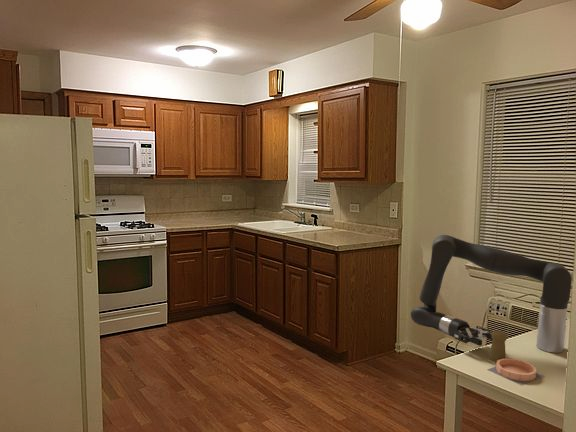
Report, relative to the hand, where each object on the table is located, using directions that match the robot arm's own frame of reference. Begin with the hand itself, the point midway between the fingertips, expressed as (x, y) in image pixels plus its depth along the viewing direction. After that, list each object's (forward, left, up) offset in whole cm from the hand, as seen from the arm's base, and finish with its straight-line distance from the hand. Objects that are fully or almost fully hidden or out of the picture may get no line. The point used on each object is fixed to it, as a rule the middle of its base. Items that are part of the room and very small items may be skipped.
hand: (489, 341), depth 177 cm
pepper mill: (0, +4, -6) cm, 7 cm away
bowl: (+4, +14, -6) cm, 16 cm away
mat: (+4, +14, -6) cm, 16 cm away
